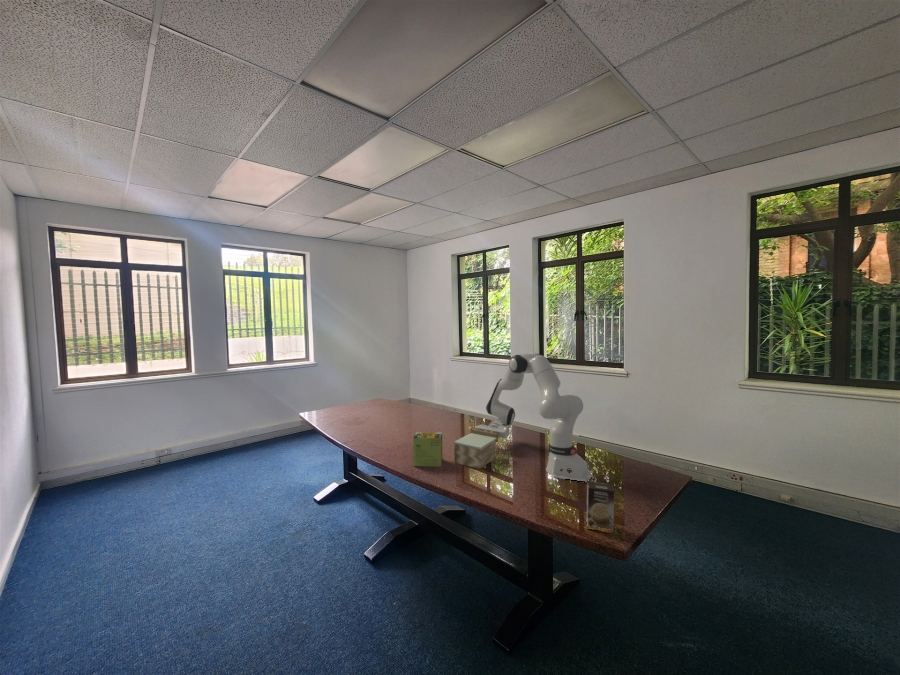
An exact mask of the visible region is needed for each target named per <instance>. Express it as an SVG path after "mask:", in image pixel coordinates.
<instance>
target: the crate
mask: <svg viewBox="0 0 900 675" xmlns="http://www.w3.org/2000/svg"><path fill="white" fill-rule="evenodd" d="M496 444H497V442H496V441H494V442H493V443H491V444H489V445H488V446H486V447H485V448H483V449H481V450H479V449H474V448H470V447H465V446H461V445H456V444H454V446H453V447H454V457H453V458H454V460H453V461H454V463H455V464H459V465H462V466H467V467H471V468H475V469H478V470H482V469H483V467H485V466H487V465H488V464H489V463H491V462H493V461H494V460H495V459H496V456H497V454H496V452H497V450H496Z"/></svg>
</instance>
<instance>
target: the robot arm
mask: <svg viewBox="0 0 900 675" xmlns="http://www.w3.org/2000/svg"><path fill="white" fill-rule="evenodd" d="M508 361H509V362H508V364H507V367H506V371H505V375H504V376H503V377H502V378H500V379H499V380H498V381H497V383H496V385H495V387H494V389H493V392H492V393H491V396H490V399H489V400H488V402H487V404H486V407H485V410H486V412H487V414H488V415H490V416H493V417H495V418H497V419H496V420H494V421H491V422H490V423H489V424H488V425H486V424H479V425H476V426H474V429H477V430H482V431H487V432H493V433H498V438H501V439H507V437H509V435H510V428H511V427H512V425H513V422H514V420H515V417H516V412H515V409H514V407H512V406H510V405H507V404H505V403H504V402H501V401H499V400H500V399H499V398H500V396H501V393H502V391H515V390H518V389H519V388H520V387H521V386H522V385H523V381H524V378H525V377H524V376H525V374H531V373H532V375H533V376H534V379H535V382H536V383H537V386H538V388H539V390H540V393H541V398H540V401H539V404H538V412H539V414H540V415H541V417H542V418H543V419H545V420H554V422H553V424H552V425H551V426H550V429H549V442H548V448H547V450H548V459H547V465H546V468H545V471H546V472H547V473H548V474H549V475H551V476H552V478H554V479H558V478H559V479H558V480H565V479H570V480H569V481H571V480H577V481H587V480H589V479H590V478H591V477H592V475H593V476H594V474H593V471H592V470H589V467H588V463H587V461H586V460H585V459H584V458H582V457H581V456H580V455H579V454H578V453H577V446H574V445H573V436H574V435H573V434H574V433H573V430H574V428H575V424H576V421H577V419H578V417H579V415H580V414H581V413H582V412H583V409H584V402H583V400H582V399H581V397H579V396H578V395H574V394H565V395H560V394H559V388H560V386H561V380H560V378H559V376H558V375H557V373H556V371H555V369H554V367H553V365H552V364H551V363H550V361H549V360H548V358H547V357H546V356H544V355H542V354H541V353H522V354H521V353H520V354H515V355H512V356H511V357H510V359H509V360H508ZM590 472H591V473H592V474H590ZM592 478H593V477H592ZM577 481H576V482H577Z"/></svg>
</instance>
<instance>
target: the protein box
mask: <svg viewBox="0 0 900 675" xmlns="http://www.w3.org/2000/svg"><path fill="white" fill-rule="evenodd" d="M412 441H413V442H412V445H413V447H412V453H413V454H412V460H413V461H412V463H413V464H412V465H413V467H442V464H443V432H442V431H439V432H436V431H434V432H432V431H427V432H425V431H424V432H423V431H422V432H421V431H417V432H415V433H414V435H413V437H412Z"/></svg>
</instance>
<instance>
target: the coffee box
mask: <svg viewBox="0 0 900 675" xmlns="http://www.w3.org/2000/svg"><path fill="white" fill-rule="evenodd" d="M586 487H587V488H586V489H587V490H586V517H585V518H586V519H585V520H586V521H585V522H587V525H586V527H587V526H589V527H600V528H606V529H612V530H613V531H614V521H615V520H614V519H615V518H614V515H615V513H614V512H615V487H614V486H613V484H612V483H606V482H601V481H599V482H597V481H592V480H590V481H588V482H587V486H586Z"/></svg>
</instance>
